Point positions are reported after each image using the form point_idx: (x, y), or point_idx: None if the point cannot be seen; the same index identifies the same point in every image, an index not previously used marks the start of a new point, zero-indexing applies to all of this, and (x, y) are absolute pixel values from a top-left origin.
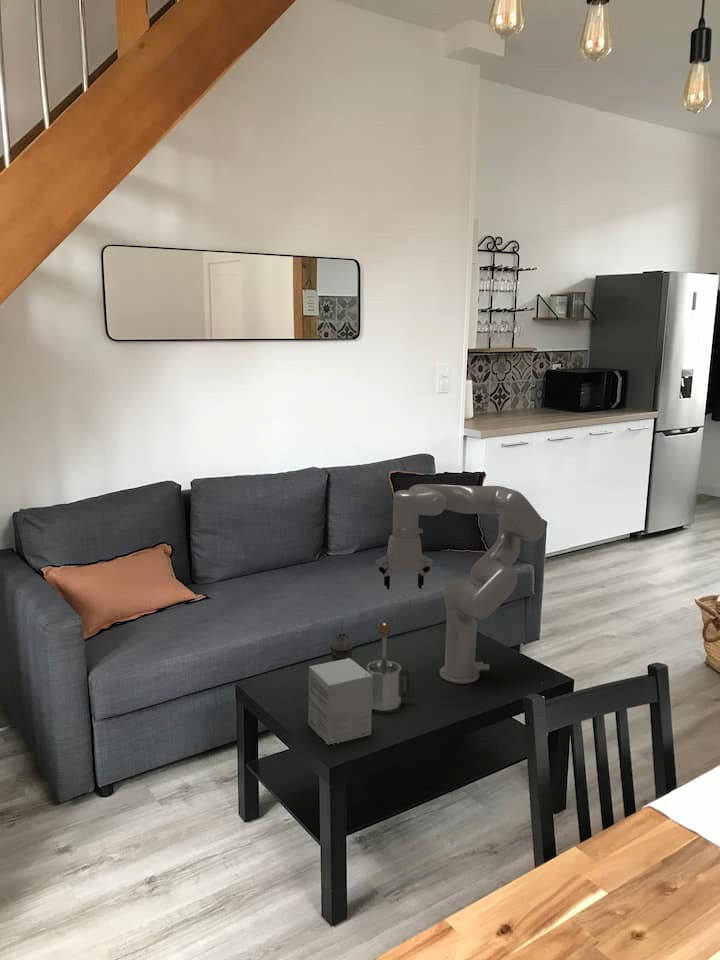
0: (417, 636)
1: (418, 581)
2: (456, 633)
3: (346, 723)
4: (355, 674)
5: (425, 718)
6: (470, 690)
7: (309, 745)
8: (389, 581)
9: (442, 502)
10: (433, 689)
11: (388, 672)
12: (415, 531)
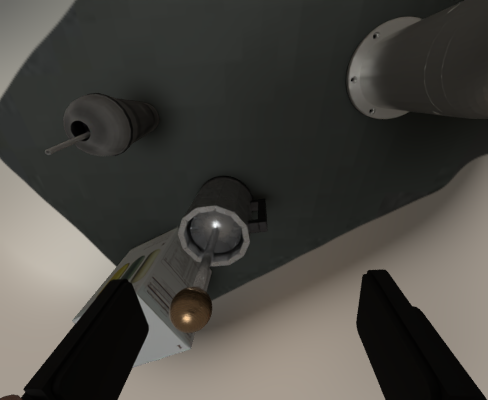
0: None
1: (380, 341)
2: (444, 112)
3: None
4: (161, 347)
5: (286, 235)
6: (388, 144)
7: None
8: (118, 389)
9: None
10: (317, 143)
11: (225, 231)
12: None
